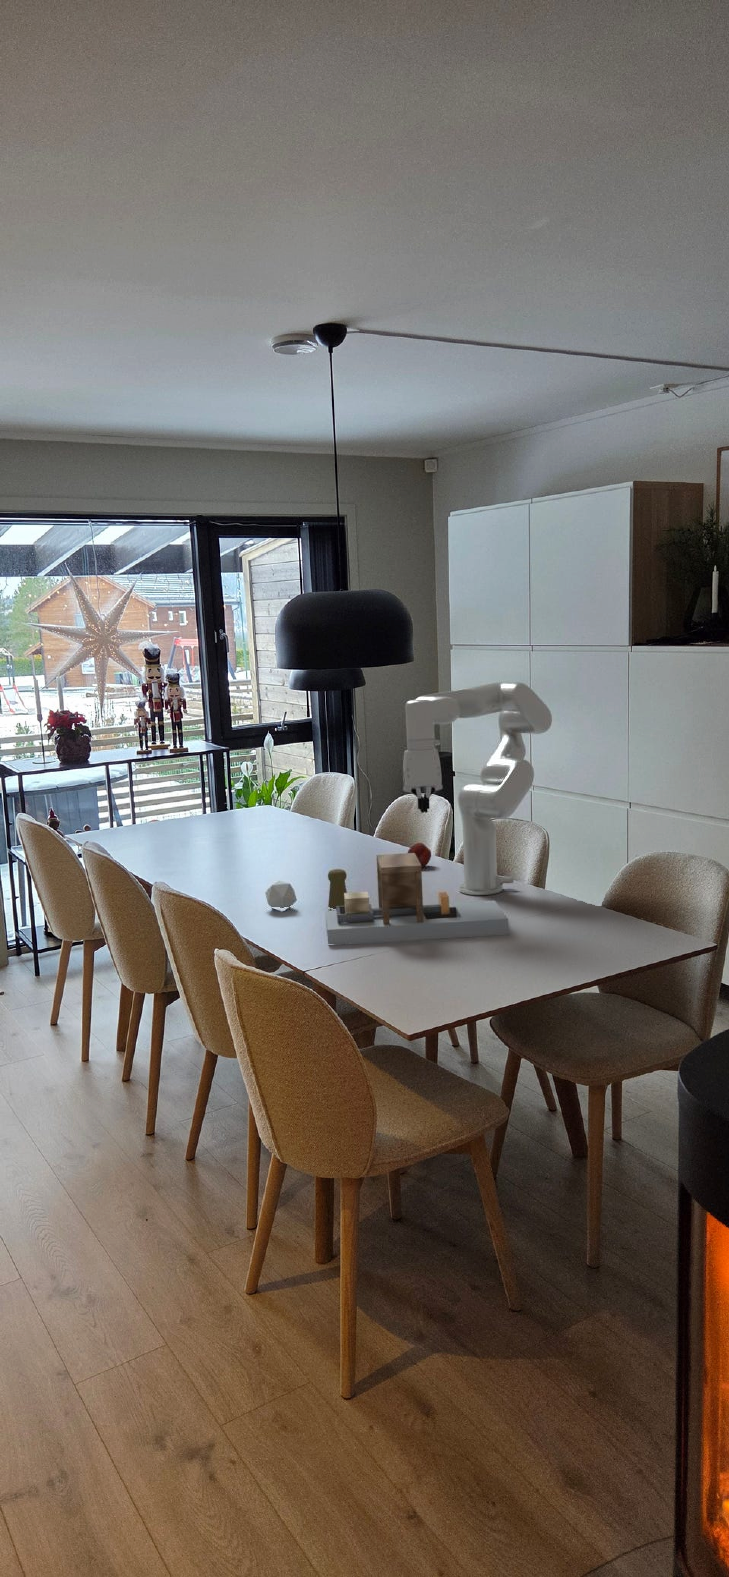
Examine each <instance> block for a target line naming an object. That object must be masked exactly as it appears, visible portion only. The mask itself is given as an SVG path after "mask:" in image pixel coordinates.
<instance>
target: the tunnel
mask: <svg viewBox="0 0 729 1577" xmlns="http://www.w3.org/2000/svg"><path fill="white" fill-rule="evenodd" d="M376 874H377V876H376V877H377V896H378V908H382V911H383V925H387V924H389V907H403V906H416V913H417V923H420V922H423V905H424V900H423V899H424V897H423V878H422V877H423V873H422V867H421V864H420V862H419V860H418V858H417V856H416V855H415V853H408V852H406V853H391V854H390V853H388V854H376Z"/></svg>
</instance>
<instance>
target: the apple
mask: <svg viewBox="0 0 729 1577" xmlns="http://www.w3.org/2000/svg"><path fill="white" fill-rule="evenodd" d="M407 853H415V855H416V856H417V858H418V860H419V862H420V864H421V868H424V867H426V866H427V865H428V864H429V862H430V861H431V858H432V851H431V849H430V848H428V846H426V845H425V843H423V842H417V843H414V844H413V845H412V846H411V847H409V849H408V851H407Z"/></svg>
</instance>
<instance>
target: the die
mask: <svg viewBox="0 0 729 1577" xmlns="http://www.w3.org/2000/svg"><path fill="white" fill-rule="evenodd" d="M265 897H266V898H265V899H266V902H267V904H268V905H269V907H270V906H271V907H280V908H284V907H290V906H291V905H292V906H293V905H294V904H295V903H296V901H298V900H297V896H296V892H295V889H294V888H293V886H292V885H291V883H290V882H285V881H281V880H278V881H276V882H275V883H274V884H272V885H270V886H269V888H268V889H267V890H266V891H265ZM292 906H291V907H292ZM271 907H270V908H271ZM291 907H290V908H291Z"/></svg>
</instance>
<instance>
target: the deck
mask: <svg viewBox="0 0 729 1577" xmlns="http://www.w3.org/2000/svg"><path fill="white" fill-rule="evenodd" d="M436 904H437V903H435V904H434V903H431V904H429V905H436ZM373 920H374V921H363V922H347V923H338V921H337V914H336V910H325V925H326V927H327V928H326V936H327V937H328V938H327V944H345V945H356V943H361V944H372V943H373V944H375V943H391V942H393V943H394V942H407V941H421V940H423V941H425V940H439V939H456V938H471V937H487V936H488V937H490V936H501V935H504V936H505V935H509V918H508V917H507V915H506V914H505V912H503V910H502V909H501V907H500V906H499V904H497V902H496V900H483V901H465V902H463V901H462V902H449V914H441V912H433V913H423V922H420V923H417V913H416V914H400V915H389V924H387V925H383V916H373ZM350 943H351V944H350Z"/></svg>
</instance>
